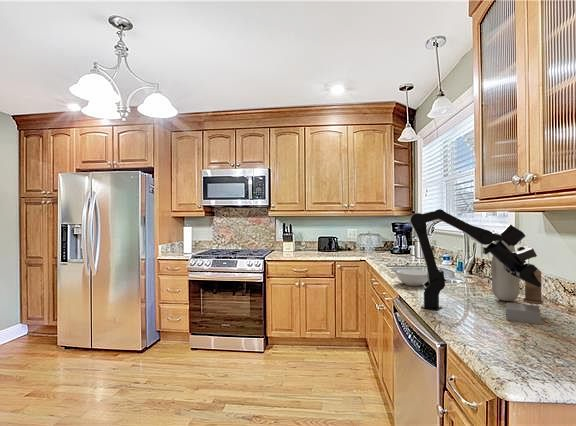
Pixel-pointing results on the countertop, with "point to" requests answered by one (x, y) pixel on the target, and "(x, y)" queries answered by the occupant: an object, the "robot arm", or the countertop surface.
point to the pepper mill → (533, 290)
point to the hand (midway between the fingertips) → (537, 284)
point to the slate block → (523, 313)
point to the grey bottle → (504, 280)
